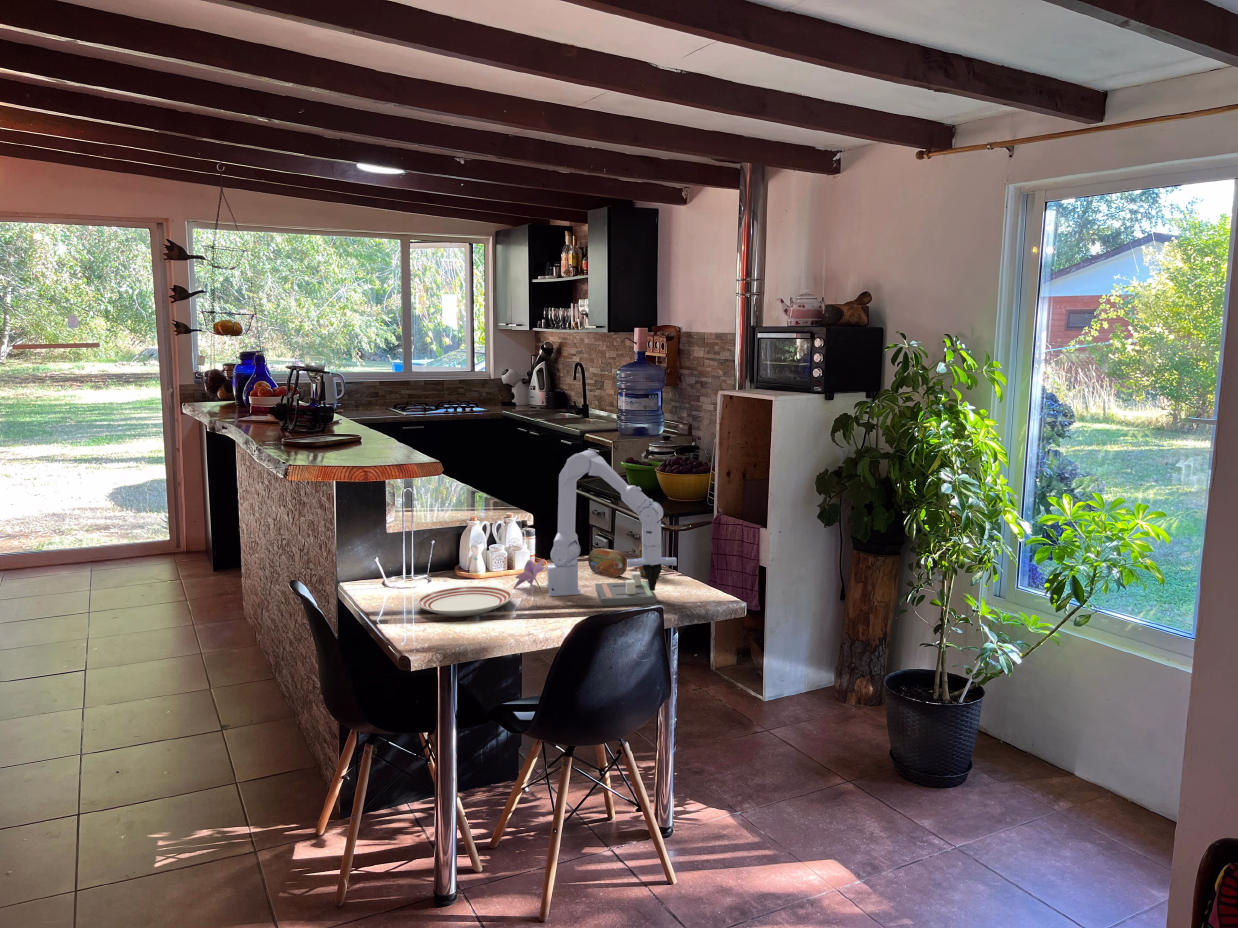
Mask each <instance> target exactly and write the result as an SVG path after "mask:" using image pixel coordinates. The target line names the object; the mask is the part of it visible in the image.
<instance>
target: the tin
mask: <svg viewBox="0 0 1238 928" xmlns="http://www.w3.org/2000/svg"><path fill="white" fill-rule="evenodd" d="M627 560H628V559H627V557H626V555H625V554H624V553H623V552H621V551H620V550H616V549H615V550H614V549H608V548H602V547H601V548H593V549H592V550H590V553H588V557H587V562H588V566H589V568H590V570H591V571H592V573H594V574H596V575H600V576H601V575H602V576H607V577H611V578H612V577H613V578H617V577H621V576H623V575H624V574H625V573H626V572H627V569H628V567H627Z"/></svg>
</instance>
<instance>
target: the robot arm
mask: <svg viewBox="0 0 1238 928" xmlns="http://www.w3.org/2000/svg"><path fill="white" fill-rule="evenodd" d="M586 474H588V476H593V477H600V478H602V480H604V481H605V482H606V483H607V484H609V485H610V486H611V487H612V488H613V489H615V490H616V491H617V492H619V494H620V498H621V501H622V502H623V503H624V504H626V506H628V508H629V509H631V510H632V511H633V512H634V513H636V514H637V515H638V519H639V521H640V523H641V539H642V558H639V557H638V558H630V559H627V569H628V568H634V567H638V568H639V566H642V568H643V570H644V572H645V574H646V577H647V579H646V581H647V582H648V584H649V590H650V591H653V592H654V591H655V592H656V586H657V582H658V580H659V579H658V577H659V575H661V573H662V570H663V568H662V566H678V565H677V563H678V562H677V561H678V560H677V558H676V557H663V556H662V520H661V519H662V518H663V516H664V508H663V507H662V505H661V504H660V503H659V502H657V501H654V500H653V499H652V498H649V497H648V496H647V495H646V494H644V492H643V491H642V488H641V487H640V486H636V485H629V484H628V483H627V482H626V481H625V480H624V479H623V478H622V477H621V476H620V474H618V473H617V472H616V471H615V470H614V469H613V468H612V467H611V466H610V464H608V463H607V461H606V460H605V459H604V457H602V456H601V455H599V454H598V453H597V452H596V451H595V450H593V449H587V450H586V449H585V450H583V451H582V452H579V453H578V452H577V453H574V454H572V455H571V456H570V457H569V458H567V459H566V463H565V464H564V467H563V468H562V469H561V471H560V473H559V475H558V496H557V497H558V498H557V501H558V504H557V506H558V507H557V533H556V535H555V537H554V539H553V546H552V549H551V551H550V560H551V561H552V562H553V563H552V564H547V565H546V566H547V567H546V569H547V570H546V571H547V576H546V577H547V582H546V589H547V592H548V593H547V594H548V597H559V596H561V597H562V596H578V595H581V591H580V587H579V571H578V570H579V567H578V566H579V563H578V562H579V561H578V557H579V555H580V554H581V546H580V544H579V540H578V539H579V536H578V534H577V533H576V519H577V518H576V513H577V512H576V511H577V509H576V508H577V481H578V480H580V479H581V478H582V477H584V475H586Z"/></svg>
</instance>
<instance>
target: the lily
mask: <svg viewBox="0 0 1238 928" xmlns="http://www.w3.org/2000/svg"><path fill="white" fill-rule="evenodd" d="M545 560H546V559H545V558H543V559H542V560H540V561H538V562H537V563H536V564H535V563H534V561H533V560H530V559H528V560H527V561H526V562H525V565H524V568H523V572H521V573H519V574H518V575H516V576H515V579H518V580H517V581H516V583H515V584H514V586H513V589H515V587H516V588H517V587H519V586H520V585H521V584H523V583H524V582H527V583H528V584H529V585H532V584H533V583H534V581H535V582H536V584H537V586H538V589H539V590H540V591H542V589H541V587H540V585H539V583H538V580H537V575H538V574H539V573H541V572H542V571H544V570H546V569H547V567H546V566H543V563H544V562H545Z"/></svg>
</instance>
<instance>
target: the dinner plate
mask: <svg viewBox="0 0 1238 928" xmlns="http://www.w3.org/2000/svg"><path fill="white" fill-rule="evenodd" d="M513 596H514V594H513V592H511V591H510V590H508V589H506V588H502V587H497V586H490V585H489V586H487V585H486V586H485V585H468V586H455V587H449V588H443V589H438V590H435V591H431V592H429V593H426V594H424V595H422V596H420V597H419V598H418V599H417V600H416V605H417V606H418V607H420V608H421V609H423V610H426V611H428V612H431V613H435V614H439V615H441V616H447V617H448V616H449V617H465V616H466V617H467V616H468V617H469V616H476V615H481V614H485V613H489V612H491V611H493V610H496V609H497V608H500V607H502V606H504V605H506V604H507V603H508V602H510V600H512V598H513Z"/></svg>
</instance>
